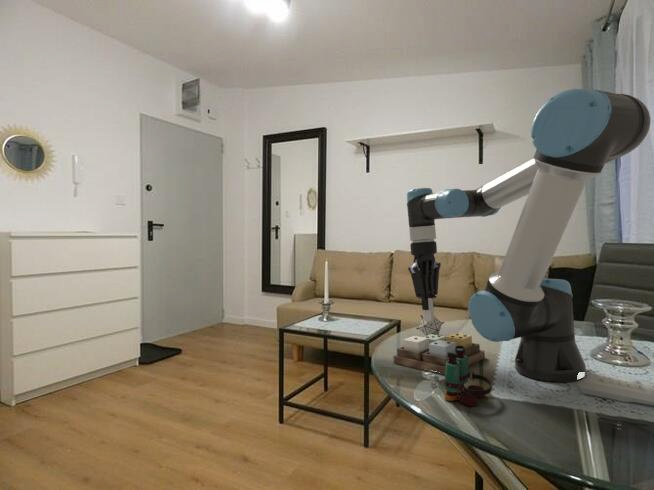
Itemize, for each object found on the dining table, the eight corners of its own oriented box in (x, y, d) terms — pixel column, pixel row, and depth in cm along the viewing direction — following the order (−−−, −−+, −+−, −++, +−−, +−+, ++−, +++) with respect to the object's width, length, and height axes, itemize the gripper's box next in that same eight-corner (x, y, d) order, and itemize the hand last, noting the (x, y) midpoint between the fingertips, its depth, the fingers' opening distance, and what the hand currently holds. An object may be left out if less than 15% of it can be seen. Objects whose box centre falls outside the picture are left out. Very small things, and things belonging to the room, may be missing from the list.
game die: (436, 348, 133) (445, 329, 127) (412, 340, 134) (420, 320, 128) (439, 330, 140) (447, 311, 134) (416, 322, 141) (423, 303, 135)
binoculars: (485, 363, 76) (437, 352, 82) (484, 415, 76) (436, 400, 83) (498, 351, 82) (453, 341, 89) (497, 398, 83) (452, 385, 90)
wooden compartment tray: (484, 357, 108) (483, 343, 108) (450, 376, 96) (449, 360, 96) (430, 347, 122) (429, 335, 121) (393, 362, 110) (392, 349, 110)
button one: (429, 348, 109) (428, 337, 109) (418, 353, 106) (417, 341, 106) (414, 345, 113) (413, 335, 113) (404, 350, 109) (403, 338, 109)
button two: (456, 353, 103) (455, 341, 102) (446, 358, 99) (445, 346, 99) (440, 350, 106) (439, 339, 106) (429, 355, 103) (428, 343, 103)
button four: (472, 346, 108) (471, 334, 108) (463, 350, 105) (462, 338, 105) (456, 343, 112) (455, 332, 112) (446, 347, 109) (446, 336, 109)
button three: (445, 346, 115) (445, 335, 114) (436, 350, 111) (435, 339, 111) (431, 343, 118) (430, 333, 118) (422, 347, 115) (421, 337, 115)
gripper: (425, 240, 121) (431, 315, 121) (398, 243, 112) (404, 323, 113) (446, 239, 115) (452, 317, 115) (419, 241, 107) (426, 326, 107)
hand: (428, 320), depth 114 cm, fingers closed
